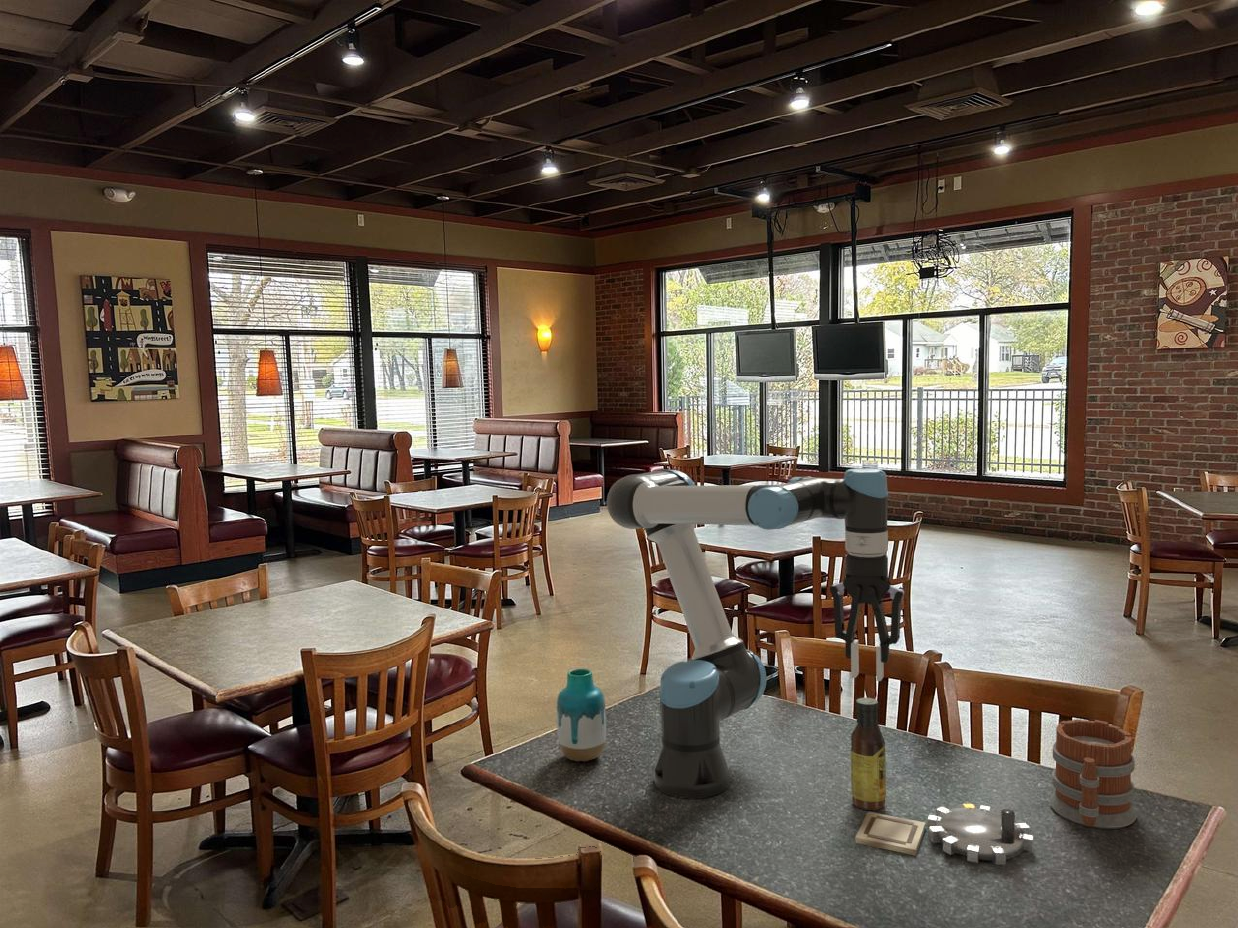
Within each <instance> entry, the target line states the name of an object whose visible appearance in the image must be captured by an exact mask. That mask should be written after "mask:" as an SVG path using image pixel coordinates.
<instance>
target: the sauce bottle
mask: <svg viewBox="0 0 1238 928" xmlns="http://www.w3.org/2000/svg"><path fill="white" fill-rule="evenodd" d="M855 708H856V716H857V717H856V718H857V719H856V726H855V728H854V729H853V730H852V732H851V736H850V737H851V738H850V740H851V744H850V745H851V748H850V771H851V773H850V774H851V775H850V777H851V779H850V780H851V783H850V784H851V795H852V798H851V799H852V800H851V801H852V804H853V805H854V806H855V807H856V808H859V809H862V810H867V811H876V810H880V809H882V808H884V806H886V805H885V804H886V798H887V793H886V792H887V788H886V786H887V784H886V781H887V778H886V775H887V772H886V770H887V769H886V742H885V739H884V736H883V734H882V730H881V728H880V725H879V720H878V719H879V717H878V715H879V713H878V710H879V701H878V700H877V699H875V698H872V697H860V698H857V699H856V700H855Z"/></svg>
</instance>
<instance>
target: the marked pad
mask: <svg viewBox="0 0 1238 928" xmlns="http://www.w3.org/2000/svg"><path fill="white" fill-rule="evenodd" d="M925 831H926V822H925V821H919V820H913V819H908V818H903V817H899V816H893V815H887V814H883V813H878V812H873V811H867V813H866V816H865V817H864V819H863V821H862V823H861V825H860V826H859V829H858V831H857V834H856V835H855V841H854V842H855V843H856V844H860V845H865V846H868V847H869V846H870V847H874V848H878V849H884V850H889V851H893V852H899V853H900V854H901V853H902V854H907V855H913V856H917V853H918V850H919V847H920V844H921V842H922V838H923V836H924V833H925Z"/></svg>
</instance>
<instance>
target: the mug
mask: <svg viewBox="0 0 1238 928" xmlns="http://www.w3.org/2000/svg"><path fill="white" fill-rule="evenodd" d="M1055 728H1056V729H1055V732H1056V733H1055V737H1056V739H1055V741H1054V743H1053V744H1052V759H1053V761H1055V768H1054V769H1053V771H1052V773H1051V774H1052V780H1051V781H1052V782H1051V783H1052V785H1053V787H1054V791H1053V793H1052V794H1051V796H1050V797H1049V802H1048V803H1049V805H1050V807H1051V809H1053V810H1054V811H1055V812H1056V813H1057V814H1058V815H1059V816H1061V817H1062V818H1063V819H1066V820H1068V821H1069V822H1072V823H1074V824H1077V825H1081V826H1084V827H1089V828H1095V829H1104V830H1105V829H1106V830H1115V829H1122V828H1125V827H1127V826H1130V825H1132V824H1133V823H1134V822H1136V819H1137V816H1138V815H1137V813H1136V811H1135V809H1134V807H1133V806H1132V803H1131V801H1133V799H1134V797H1135V785H1134V782H1133V781H1132V773H1133V772H1134V771H1135V768H1136V767H1135V764H1136V762H1135V760H1136V758H1135V755H1134V754H1133V752H1132V735H1131V733H1130V732H1128V731H1126V730H1124V729H1123V728H1121V727H1120V726H1117V725H1112V724H1110V722H1107V721H1104V720H1103V721H1102V720H1097V719H1094V721H1093V720H1087V719H1086V720H1084V719H1083V720H1082V719H1073V720H1067V721H1066V720H1063V721H1060V722H1059V723H1058V724H1057V726H1056V727H1055Z"/></svg>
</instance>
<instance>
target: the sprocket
mask: <svg viewBox="0 0 1238 928" xmlns="http://www.w3.org/2000/svg"><path fill="white" fill-rule="evenodd" d="M935 811H936V815H932V814H929V815H928V818H927V830H928V831H929V834H928V835H929V840H930V841H931V842H932V843H941V845H942V851H943V852H944V853H947V854H948V855H950V856H951V855H954V854H955V853H957V854H960V855H962V856H964V857H965V856H966V860H967V862H972V863H976V864H978V863H979V860H983V861H984V860H985V861H992V862H993V863H994V864H995V865H996V866H997V865H1006V864H1007V862H1006V861H1007V860H1009V859H1013V858H1015V857H1017V856H1019V855H1020V854H1021V853H1023V851H1026V852H1027V851H1028V852H1033V848H1034V835H1032V834H1030V828H1031V827H1030V826H1029V825H1028V824H1027V823H1026V822H1017V821H1015V820H1016V819H1015V818H1016V817H1015V816H1016V813H1015V811H1014V810H1012V809H1010V808H1004V809H1001V810H1000V811H1001V812H997V811H993V810H991V806H987V805H980V807H979V808H977V807H975V805H974V804H973V803H963V806H962V807H955V808H949V809H948V808H946V807H944V806H940V807H937V808H936V810H935Z"/></svg>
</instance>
